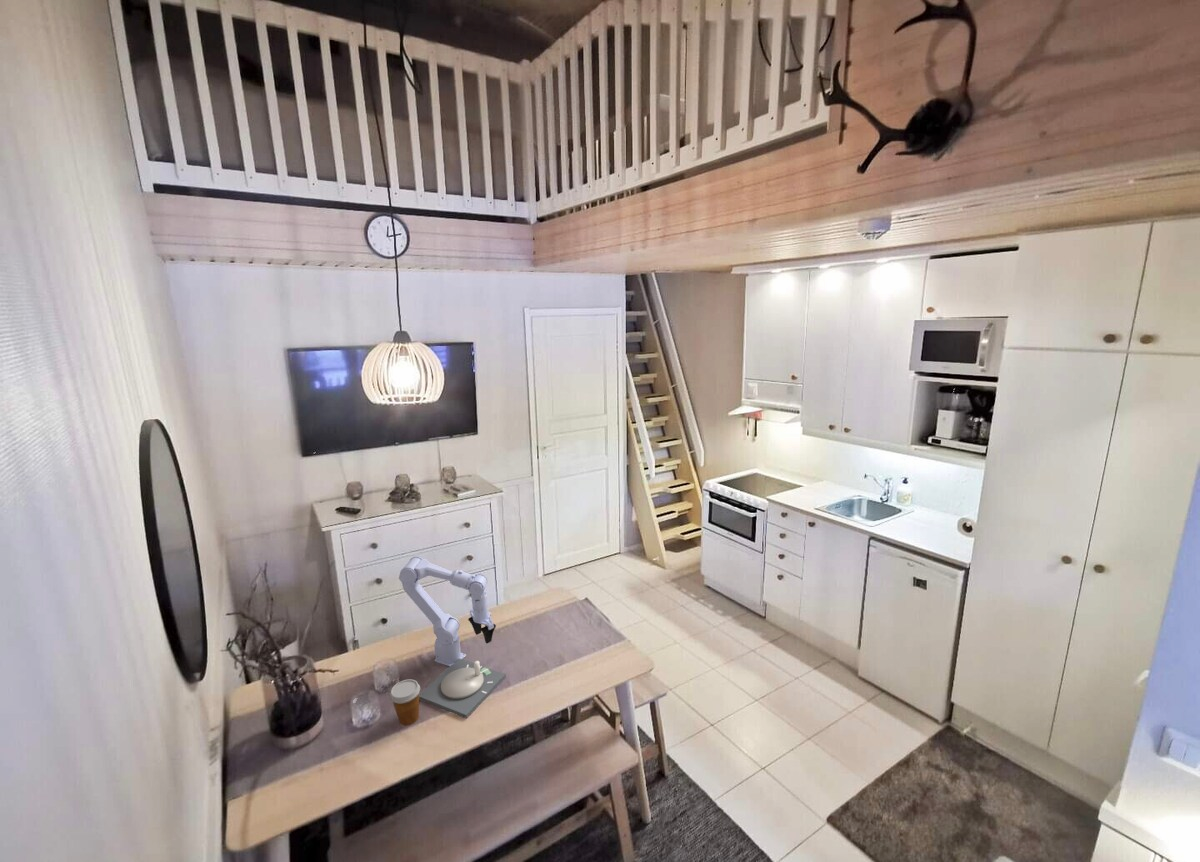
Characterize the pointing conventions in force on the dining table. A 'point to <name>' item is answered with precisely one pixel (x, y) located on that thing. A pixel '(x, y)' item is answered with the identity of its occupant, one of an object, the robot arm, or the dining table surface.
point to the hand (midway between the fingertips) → (483, 637)
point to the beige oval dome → (463, 682)
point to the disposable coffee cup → (406, 701)
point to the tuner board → (462, 705)
